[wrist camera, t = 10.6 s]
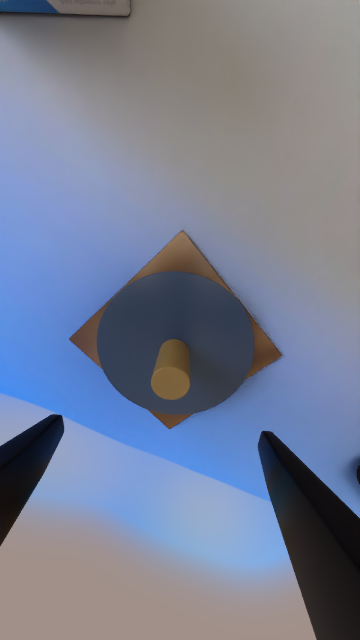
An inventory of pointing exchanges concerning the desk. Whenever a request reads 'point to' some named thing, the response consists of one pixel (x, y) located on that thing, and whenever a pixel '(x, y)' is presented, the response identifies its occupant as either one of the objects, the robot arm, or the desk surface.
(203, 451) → the desk surface
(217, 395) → the tin lid
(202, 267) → the coaster
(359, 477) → the black sponge
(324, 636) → the robot arm
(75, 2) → the ink box
